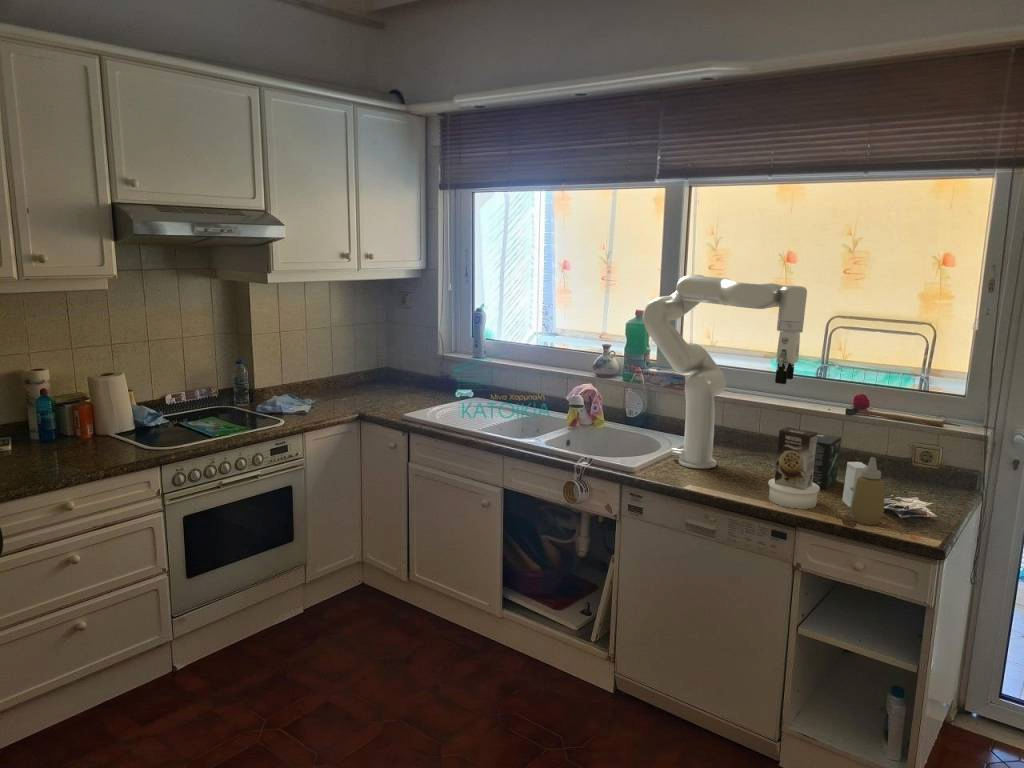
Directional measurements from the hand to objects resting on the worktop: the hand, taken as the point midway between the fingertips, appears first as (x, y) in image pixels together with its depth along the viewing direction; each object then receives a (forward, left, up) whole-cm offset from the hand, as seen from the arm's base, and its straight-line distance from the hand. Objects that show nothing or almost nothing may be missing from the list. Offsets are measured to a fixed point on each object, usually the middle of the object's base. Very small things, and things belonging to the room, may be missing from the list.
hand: (784, 381), depth 232 cm
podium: (+8, -20, -32) cm, 38 cm away
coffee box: (+8, -20, -27) cm, 34 cm away
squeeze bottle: (+28, -27, -32) cm, 50 cm away
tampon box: (+12, +3, -32) cm, 34 cm away
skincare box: (+24, -14, -32) cm, 42 cm away
